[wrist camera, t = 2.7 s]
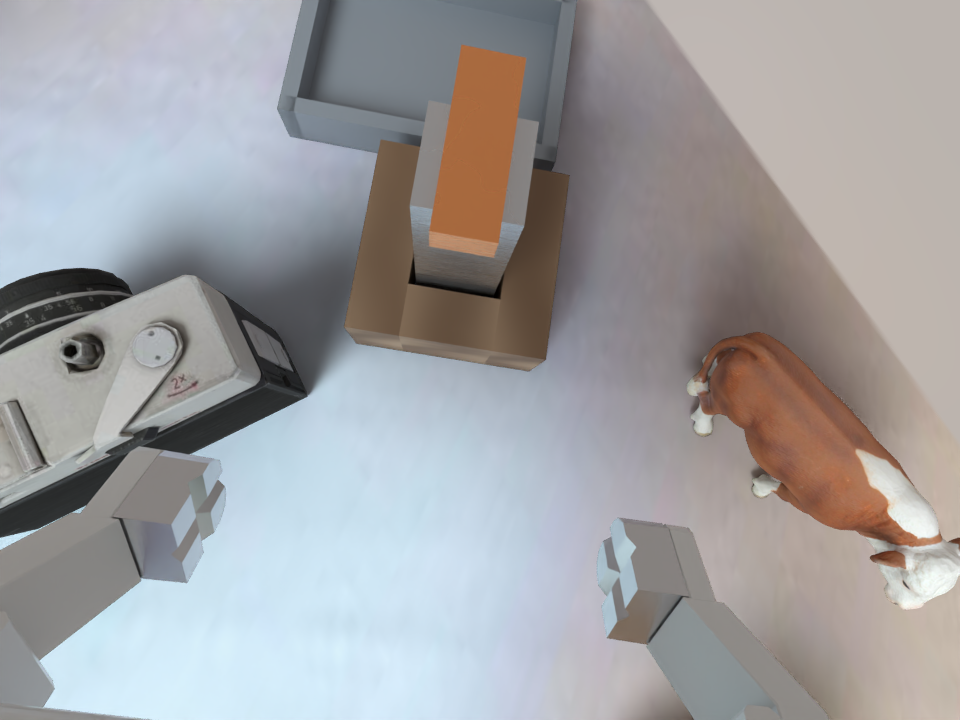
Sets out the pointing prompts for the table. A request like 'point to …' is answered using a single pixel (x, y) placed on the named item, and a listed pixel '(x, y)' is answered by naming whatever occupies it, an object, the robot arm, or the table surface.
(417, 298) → the hitch block
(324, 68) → the tray
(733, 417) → the bull figurine
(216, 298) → the camera
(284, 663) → the table surface
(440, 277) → the orange-topped grey block
